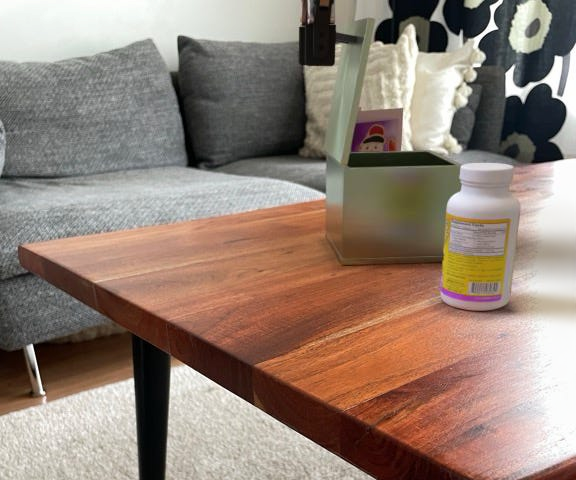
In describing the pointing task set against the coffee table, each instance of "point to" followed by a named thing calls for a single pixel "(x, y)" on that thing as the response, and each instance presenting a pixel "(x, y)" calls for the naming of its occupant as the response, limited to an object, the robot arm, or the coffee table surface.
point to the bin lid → (348, 87)
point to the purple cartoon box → (378, 130)
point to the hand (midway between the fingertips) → (316, 63)
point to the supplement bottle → (480, 239)
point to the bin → (389, 206)
